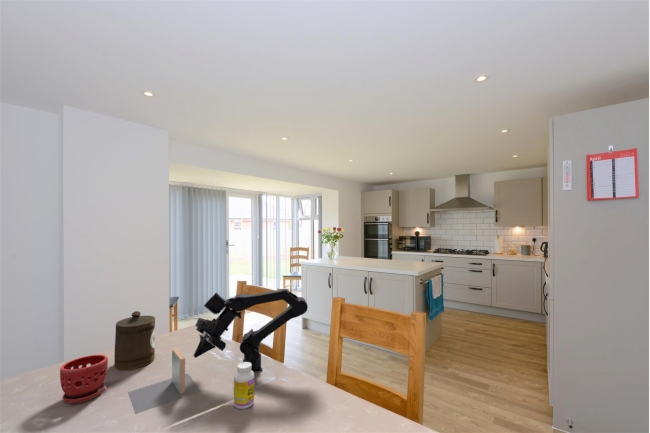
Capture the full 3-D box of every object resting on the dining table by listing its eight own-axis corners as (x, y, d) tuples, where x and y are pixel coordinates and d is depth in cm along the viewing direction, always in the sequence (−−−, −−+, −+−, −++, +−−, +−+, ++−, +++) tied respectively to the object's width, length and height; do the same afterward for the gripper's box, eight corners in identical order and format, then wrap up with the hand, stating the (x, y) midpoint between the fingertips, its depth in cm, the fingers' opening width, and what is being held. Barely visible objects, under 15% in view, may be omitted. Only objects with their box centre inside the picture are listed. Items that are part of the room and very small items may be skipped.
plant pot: (116, 389, 108) (116, 356, 109) (75, 410, 96) (76, 373, 96) (91, 382, 113) (92, 351, 113) (49, 402, 100) (50, 366, 101)
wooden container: (161, 360, 132) (162, 310, 132) (124, 374, 119) (125, 319, 120) (144, 352, 139) (144, 305, 140) (107, 364, 127) (108, 313, 127)
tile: (176, 380, 113) (176, 348, 114) (184, 392, 105) (185, 358, 105) (171, 381, 112) (172, 349, 113) (179, 394, 104) (180, 359, 104)
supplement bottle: (248, 411, 96) (248, 370, 96) (229, 408, 97) (230, 368, 97) (257, 399, 102) (257, 361, 102) (239, 396, 103) (240, 359, 104)
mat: (187, 374, 118) (187, 373, 118) (201, 392, 106) (201, 390, 106) (128, 393, 105) (128, 391, 105) (135, 415, 93) (135, 413, 93)
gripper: (201, 305, 124) (172, 338, 117) (217, 315, 109) (185, 354, 102) (220, 320, 129) (193, 352, 121) (237, 332, 114) (208, 370, 107)
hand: (194, 356), depth 113 cm, fingers closed
